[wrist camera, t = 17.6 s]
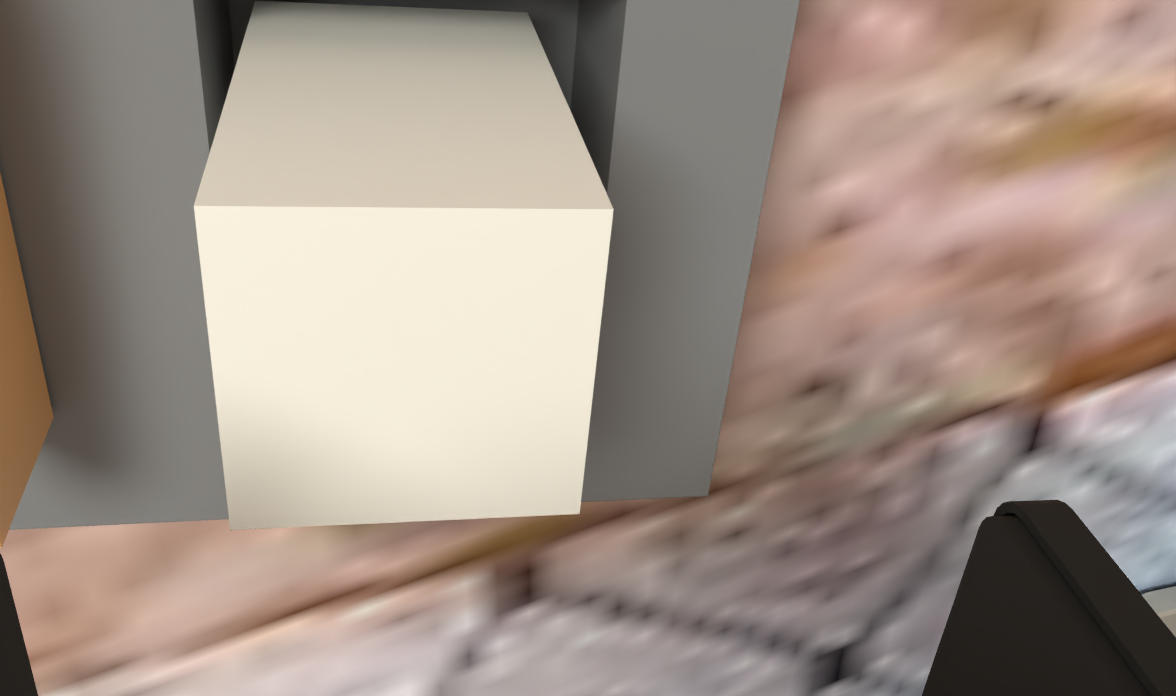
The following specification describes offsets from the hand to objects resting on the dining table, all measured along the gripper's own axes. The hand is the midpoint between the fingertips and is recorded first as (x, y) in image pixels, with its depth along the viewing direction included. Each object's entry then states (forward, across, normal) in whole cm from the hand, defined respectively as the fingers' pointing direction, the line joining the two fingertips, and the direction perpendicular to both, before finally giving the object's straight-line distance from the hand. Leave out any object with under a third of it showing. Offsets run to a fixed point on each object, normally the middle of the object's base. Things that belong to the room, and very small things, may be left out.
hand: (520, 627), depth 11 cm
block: (+13, +1, -1) cm, 13 cm away
